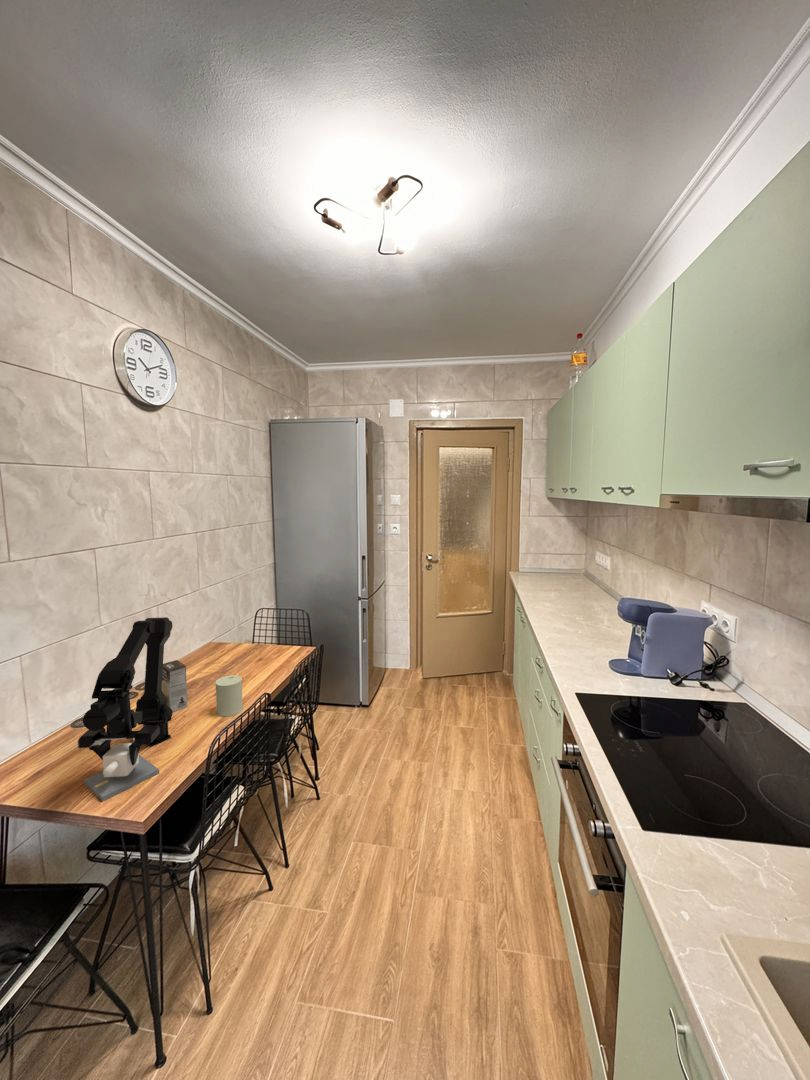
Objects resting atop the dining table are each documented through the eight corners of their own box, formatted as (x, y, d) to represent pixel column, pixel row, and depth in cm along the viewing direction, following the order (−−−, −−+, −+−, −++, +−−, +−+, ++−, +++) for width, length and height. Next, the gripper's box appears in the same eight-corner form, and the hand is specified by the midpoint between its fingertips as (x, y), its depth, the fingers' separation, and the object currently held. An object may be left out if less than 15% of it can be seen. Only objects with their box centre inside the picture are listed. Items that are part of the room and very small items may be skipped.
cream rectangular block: (138, 762, 123) (137, 742, 122) (120, 784, 113) (118, 763, 113) (116, 763, 122) (115, 743, 122) (95, 786, 113) (94, 764, 112)
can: (246, 704, 163) (245, 673, 162) (238, 716, 154) (236, 684, 153) (222, 704, 163) (220, 674, 162) (212, 716, 154) (210, 684, 153)
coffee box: (161, 705, 163) (159, 664, 161) (179, 699, 167) (177, 659, 166) (170, 713, 157) (168, 670, 155) (188, 706, 161) (186, 665, 160)
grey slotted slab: (139, 758, 129) (138, 743, 129) (159, 773, 122) (158, 757, 122) (84, 783, 118) (83, 767, 117) (102, 801, 111) (101, 784, 110)
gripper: (167, 696, 127) (169, 746, 128) (99, 699, 125) (103, 750, 127) (148, 715, 116) (151, 769, 117) (74, 718, 114) (78, 774, 116)
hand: (121, 765), depth 120 cm, fingers closed on cream rectangular block, 6 cm apart
